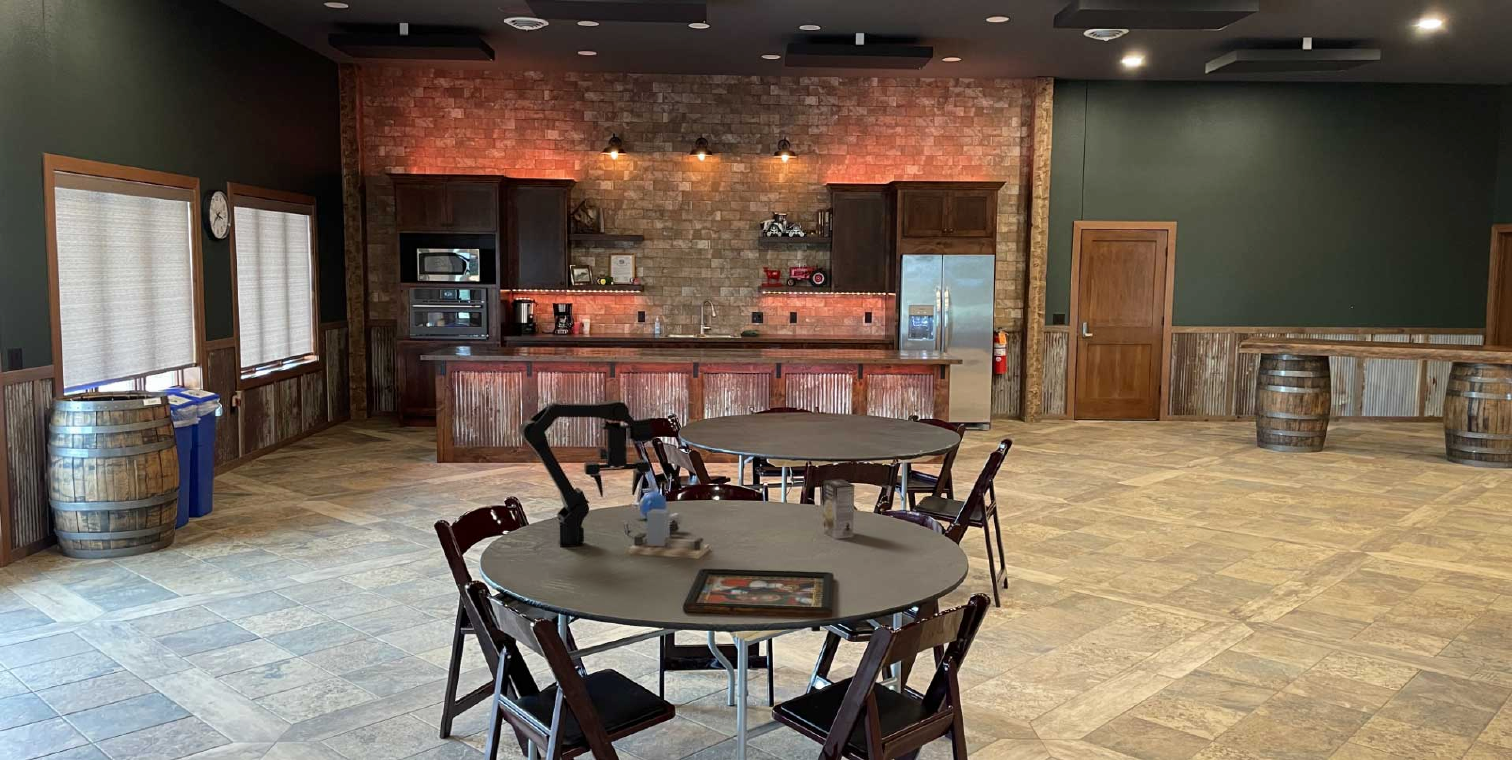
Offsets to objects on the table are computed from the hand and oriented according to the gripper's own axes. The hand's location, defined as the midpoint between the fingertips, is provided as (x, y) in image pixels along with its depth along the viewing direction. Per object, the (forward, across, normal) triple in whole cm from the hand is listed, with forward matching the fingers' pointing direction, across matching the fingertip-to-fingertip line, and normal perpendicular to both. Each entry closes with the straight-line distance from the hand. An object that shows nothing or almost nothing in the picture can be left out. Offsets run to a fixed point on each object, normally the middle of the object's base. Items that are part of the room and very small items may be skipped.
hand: (617, 495), depth 311 cm
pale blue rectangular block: (+11, -9, +16) cm, 21 cm away
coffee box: (+13, -65, +11) cm, 67 cm away
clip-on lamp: (+13, -11, -5) cm, 18 cm away
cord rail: (+13, -12, +17) cm, 25 cm away
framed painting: (+14, -27, +62) cm, 69 cm away
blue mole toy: (+13, -13, -24) cm, 30 cm away
